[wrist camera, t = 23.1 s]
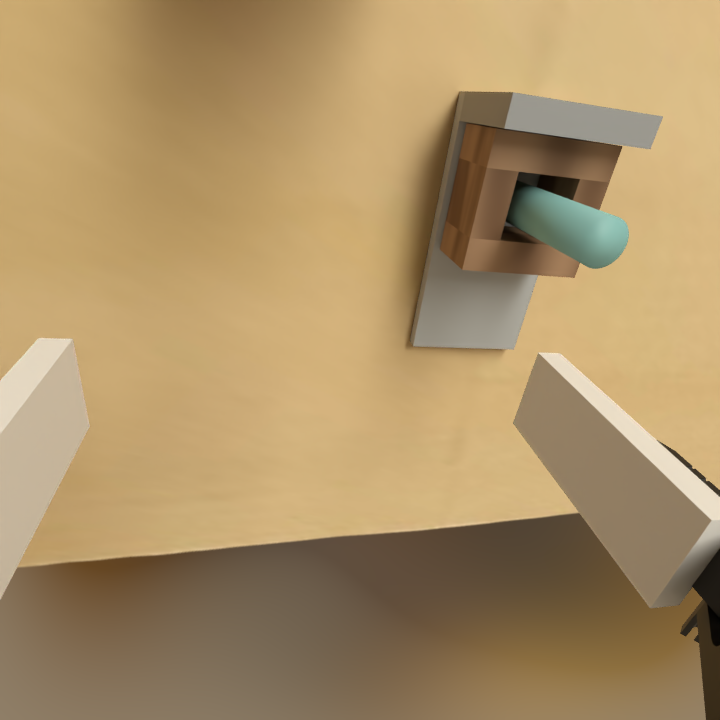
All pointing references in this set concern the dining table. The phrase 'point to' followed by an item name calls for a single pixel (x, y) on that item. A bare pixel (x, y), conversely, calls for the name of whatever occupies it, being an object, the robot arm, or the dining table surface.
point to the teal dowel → (568, 225)
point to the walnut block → (495, 189)
